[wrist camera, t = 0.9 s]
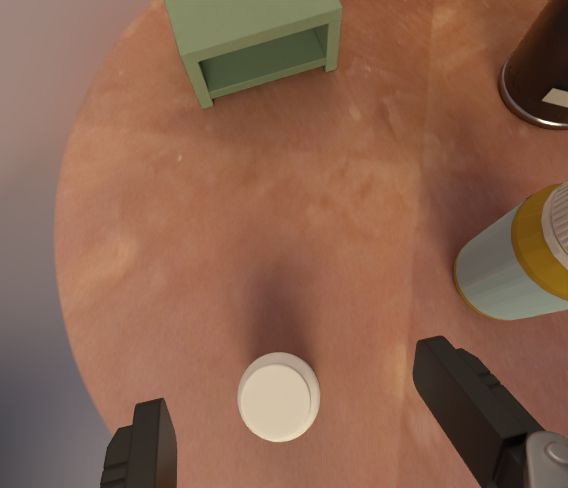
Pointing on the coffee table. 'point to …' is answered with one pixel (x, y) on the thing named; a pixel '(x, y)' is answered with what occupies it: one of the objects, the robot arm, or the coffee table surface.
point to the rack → (252, 41)
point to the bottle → (519, 260)
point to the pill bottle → (279, 396)
